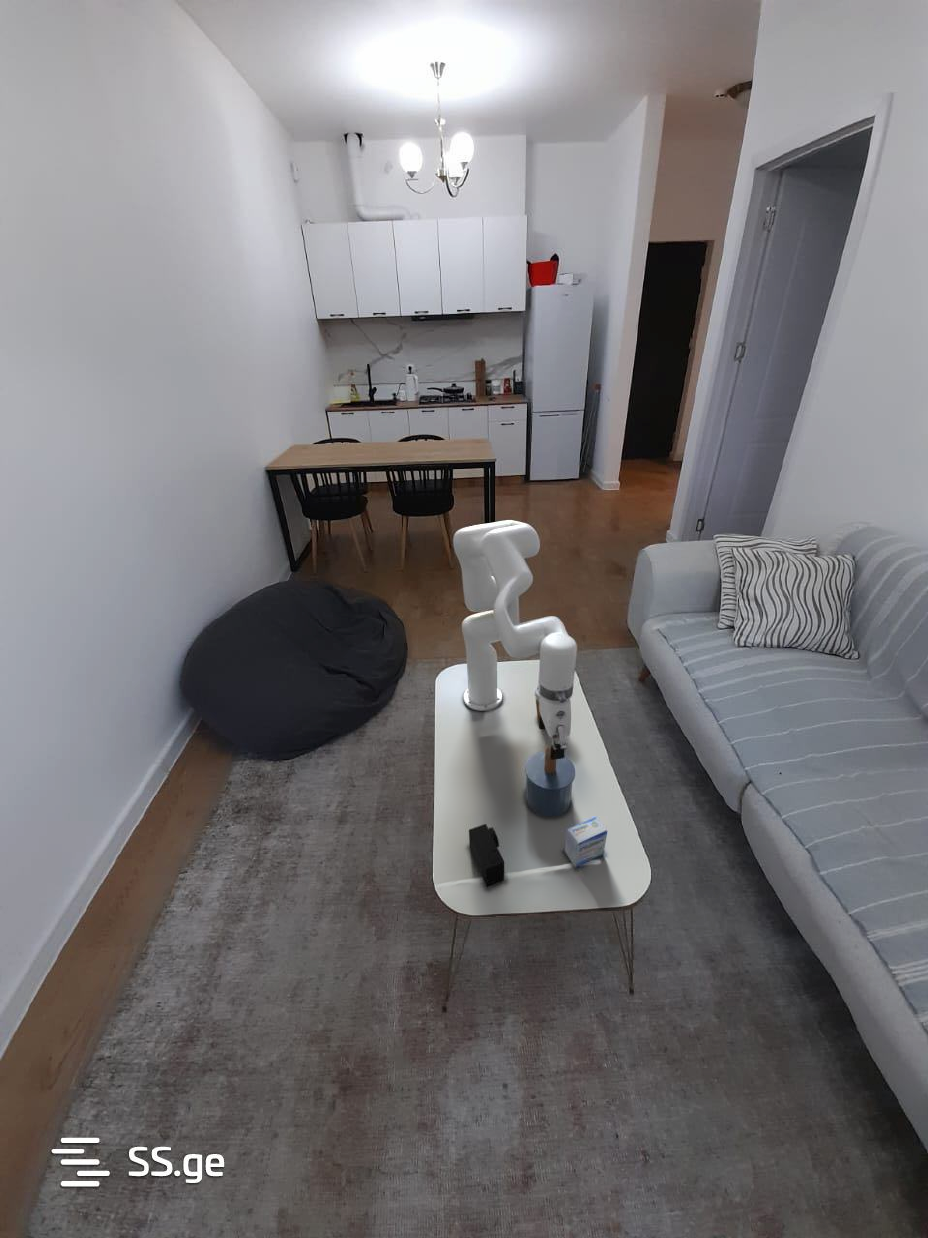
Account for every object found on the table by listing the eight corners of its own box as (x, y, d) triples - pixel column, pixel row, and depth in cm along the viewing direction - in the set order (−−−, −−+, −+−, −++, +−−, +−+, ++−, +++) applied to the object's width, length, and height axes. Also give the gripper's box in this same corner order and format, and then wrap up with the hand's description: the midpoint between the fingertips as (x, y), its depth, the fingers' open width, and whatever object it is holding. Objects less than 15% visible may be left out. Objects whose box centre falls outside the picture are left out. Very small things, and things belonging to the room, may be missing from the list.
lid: (519, 757, 127) (520, 736, 123) (566, 751, 128) (568, 730, 124) (531, 795, 117) (532, 774, 113) (581, 788, 118) (584, 767, 114)
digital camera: (509, 879, 110) (509, 860, 106) (486, 888, 108) (486, 869, 104) (491, 840, 118) (490, 821, 114) (469, 848, 116) (468, 829, 113)
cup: (521, 784, 132) (522, 756, 126) (562, 779, 133) (565, 751, 127) (531, 820, 122) (533, 792, 117) (576, 814, 123) (579, 785, 118)
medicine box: (575, 868, 111) (578, 844, 107) (564, 852, 115) (566, 828, 110) (604, 854, 114) (608, 831, 109) (592, 839, 117) (596, 815, 113)
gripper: (585, 711, 102) (578, 769, 111) (560, 661, 116) (555, 715, 125) (549, 715, 101) (545, 773, 110) (529, 665, 115) (526, 719, 124)
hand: (551, 742), depth 118 cm, fingers open, 9 cm apart
